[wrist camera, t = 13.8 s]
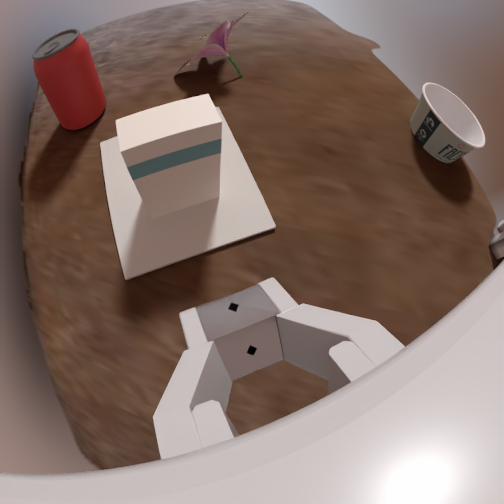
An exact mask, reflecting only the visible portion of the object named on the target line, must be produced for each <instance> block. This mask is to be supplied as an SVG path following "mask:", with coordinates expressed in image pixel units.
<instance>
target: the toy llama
mask: <svg viewBox="0 0 504 504" xmlns="http://www.w3.org/2000/svg"><path fill="white" fill-rule="evenodd" d="M497 229H498V231H499V234H498V235H496V236H494V237H493V238H492V240H491V242H490V244H489V247H490V249H491V251H492V253H493V254H494V256H495V258H496V260H497V259H499V258H502V257H504V219H503V220H501V221H500V223H499V225H498V228H497Z"/></svg>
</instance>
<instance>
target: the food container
mask: <svg viewBox="0 0 504 504" xmlns="http://www.w3.org/2000/svg"><path fill="white" fill-rule="evenodd" d="M410 126H411V130H412V132H413V134H414V136H415V138H416V139H417V141H418V142H419V143H420V145H421V146H422V147H423V148H424V149H425V150H426V151H427V152H428V153H429V154H430V155H432V156H433V157H434V158H436V159H438V160H439V161H442V162H445V163H451V162H453V161H455V160H457V159H458V158H460V157H462V156H464V155H465V154H467V153H469V152H470V151H472V150H474V149H481V148H483V146H484V145H485V136H484V132H483V130H482V128H481V126H480V124H479V122H478V120H477V119H476V117H475V116H474V114H473V113H472V112H471V110H470V109H469V108H468V107H467V106H466V105H465V104H464V103H463V102H462V101H461V100H460V99H459V98H458V97H457V96H456V95H454V94H453V93H451V92H450V91H449V90H447V89H446V88H444V87H442V86H440V85H438V84H435V83H426V84H424V85H423V87H422V95H421V98H420V100H419V102H418V104H417V107H416V109H415V111H414V113H413V115H412V117H411V120H410Z"/></svg>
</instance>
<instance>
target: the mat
mask: <svg viewBox="0 0 504 504" xmlns="http://www.w3.org/2000/svg"><path fill="white" fill-rule="evenodd" d="M215 108H216V110H217V112H218V114H219V116H220V118H221V120H222V136H221V138H222V145H221V163H220V197H218V198H215V199H212V200H209V201H206V202H203V203H199V204H196V205H193V206H190V207H187V208H184V209H181V210H178V211H175V212H172V213H169V214H166V215H163V216H160V217H158V218H155V219H151V217H150V215H149V213H148V211H147V209H146V207H145V205H144V203H143V201H142V199H141V196H140V194H139V192H138V190H137V188H136V186H135V184H134V181H133V180H132V178H131V176H130V174H129V171H128V169H127V166H126V164H125V162H124V159H123V157H122V155H121V152H120V147H119V141H118V136H117V137H114V138H111V139H109V140H106V141H104V142H101V143H100V147H101V156H102V164H103V172H104V179H105V186H106V192H107V198H108V204H109V210H110V215H111V220H112V225H113V230H114V235H115V239H116V244H117V248H118V253H119V257H120V261H121V265H122V269H123V273H124V277H125V279H126V280H129V279H131V278H134V277H137V276H140V275H143V274H145V273H148V272H151V271H154V270H157V269H159V268H162V267H165V266H168V265H171V264H173V263H176V262H179V261H182V260H185V259H188V258H191V257H193V256H196V255H199V254H202V253H205V252H208V251H211V250H214V249H216V248H219V247H222V246H225V245H228V244H231V243H234V242H237V241H240V240H243V239H246V238H249V237H251V236H254V235H257V234H260V233H263V232H266V231H269V230H272V229H275V228H276V225H275V223H274V221H273V219H272V217H271V214H270V212H269V210H268V208H267V206H266V204H265V201H264V199H263V197H262V195H261V193H260V191H259V189H258V187H257V184H256V182H255V180H254V178H253V176H252V174H251V172H250V170H249V168H248V166H247V163H246V161H245V159H244V157H243V155H242V153H241V151H240V149H239V147H238V145H237V143H236V141H235V139H234V137H233V135H232V133H231V131H230V129H229V127H228V125H227V123H226V121H225V119H224V117H223V115H222V113H221V111H220V109H219V107H215Z"/></svg>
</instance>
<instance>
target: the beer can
mask: <svg viewBox="0 0 504 504" xmlns="http://www.w3.org/2000/svg"><path fill="white" fill-rule="evenodd" d="M79 33H80V32H79V30H78V29H69V30H66V31H63V32H60V33H58V34H56V35H54V36H52V37H50V38H49V39H47V40H46V41H45V42H43V43H42V44H41V45H40V46H39V47H38V48H37V49H36V50H35V51H34V53H33V55H32V56H33V59H34V72H35V75H36V77H37V80H38V82H39V84H40V86H41V88H42V90H43V92H44V94H45V95H46V97H47V99H48V101H49V103H50V105H51V107H52V109H53V111H54V112H55V114H56V116H57V118H58V120H59V122H60V123H61V125H62V127H64V128H65V129H67V130H78V129H81V128H84V127H86V126H88V125H90V124H91V123H93V122H94V121H95V120H96V119H97V118H99V117H100V115H101V114H102V112H103V111H104V109H105V106H106V98H105V95H104V92H103V89H102V87H101V84H100V81H99V78H98V75H97V71H96V68H95V65H94V62H93V59H92V56H91V52H90V49H89V46H88V43H87V42H86V40H85V39H84V38H83V37H82V36H81V35H80V34H79Z"/></svg>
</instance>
